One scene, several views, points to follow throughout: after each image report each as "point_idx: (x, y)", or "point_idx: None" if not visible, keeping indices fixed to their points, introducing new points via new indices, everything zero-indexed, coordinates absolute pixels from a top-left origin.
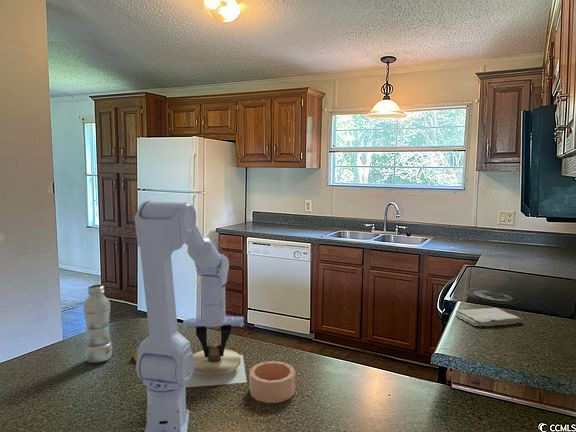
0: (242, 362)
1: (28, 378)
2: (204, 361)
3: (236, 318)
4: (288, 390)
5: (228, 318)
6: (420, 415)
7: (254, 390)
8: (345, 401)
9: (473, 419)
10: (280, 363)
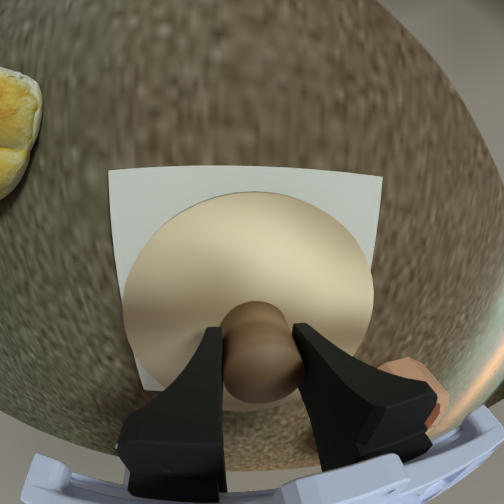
0: (368, 253)
1: None
2: None
3: (464, 473)
4: None
5: (426, 497)
6: (481, 402)
7: None
8: (453, 397)
9: (499, 396)
10: (439, 401)
